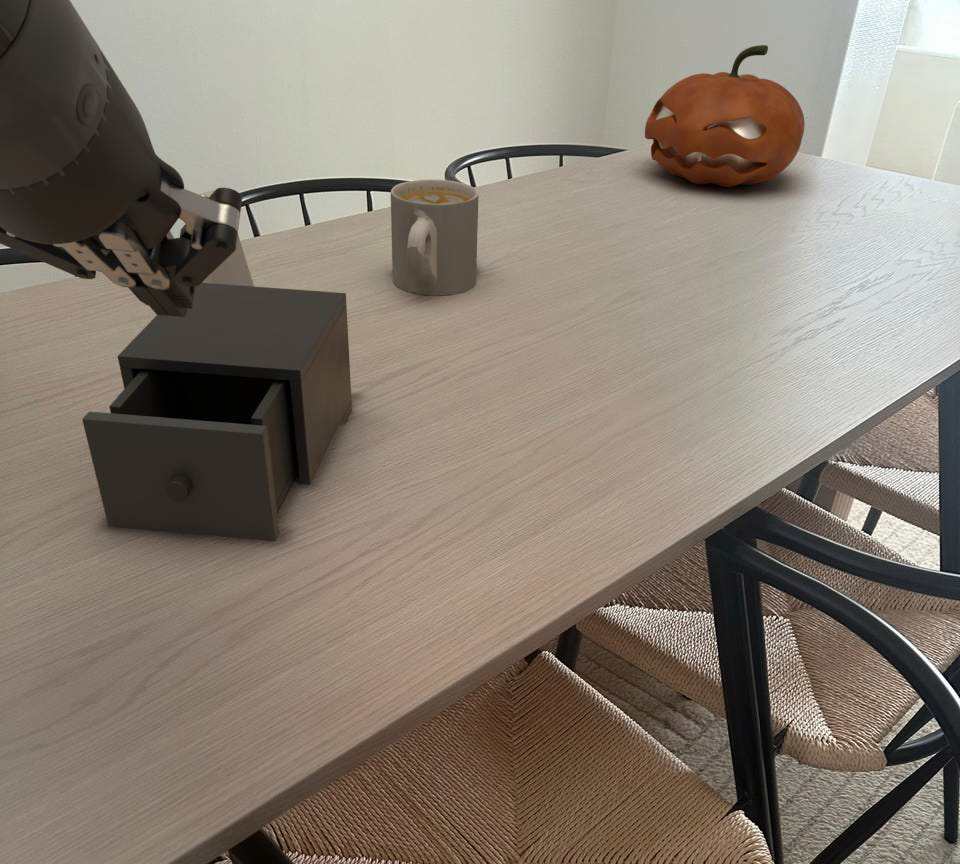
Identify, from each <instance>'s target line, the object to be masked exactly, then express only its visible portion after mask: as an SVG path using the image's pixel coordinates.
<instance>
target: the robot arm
mask: <svg viewBox="0 0 960 864" xmlns="http://www.w3.org/2000/svg"><path fill="white" fill-rule="evenodd" d="M213 191H214V192H213V193H212V195H211V196H210V197H209V198H208V197H207V196H206V195H202V193H200V194H201V195H200V194H199V193H196V192H194V191H191V190H189V189H186V188H185V183H184V180H183V178H182V176H181V174H180V173H179V172H178V171H177V169H175V168H174V167H173V166H172V165H170V164H169V163H168V162H165V161H164V160H163V159H162V158H160V157H159V156H158V155H157V153H156V152H155V149H154V147H153V144H152V140H151V138H150V135H149V132H148V129H147V126H146V123H145V121H144V119H143V116H142V114H141V112H140V110H139V108H138V107H137V105H136V103H135V102H134V100H133V99H132V97H131V96H130V94H129V92H128V91H127V89H126V88H125V85H124V84H123V82H122V81H121V80H120V78H119V76H118V74H117V73H116V71H115V70H114V68H113V67H112V65H111V64H110V62H109V60H108V59H107V57H106V55H105V54H104V52H103V51H102V49H101V48H100V46H99V44H98V43H97V42H96V39H95V38H94V37H93V35H92V33H91V32H90V30H89V29H88V27H87V25H86V24H85V22H84V20H83V19H82V17H81V16H80V14H79V12H78V11H77V9H76V7H75V5H73V3H72V1H71V0H0V245H1V246H2V245H3V246H5V247H7V248H9V249H12V250H14V251H17V252H19V253H21V254H23V255H26V256H28V257H30V258H33V259H35V260H38V261H40V262H42V263H45V264H46V265H49V266H52V267H53V268H56V269H58V270H60V271H63V272H66V273H68V274H70V275H72V276H75V277H77V278H80V279H84V280H94V279H96V274H97V272H100V273H102V274H103V275H104V276H105V277H106V278H107V279H108V280H109V281H110V282H111V283H113V284H115V285H117V286H119V287H122V288H128V289H129V290H130V292H132V294H133V295H134V296H135V297H136V298H137V299H138V301H139V302H140V303H143V304H144V305H146V306H149V308H150V309H151V310H152V311H153V312H154V314H155V315H156V316H157V315H165V316H178V317H185V316H186V314H187V308H189V309H192V305H193V298H194V290H195V286H198V285H200V284H201V283H202V282H203V281H204V280H205V279H206V278H207V277H208V276H209V275H210V274H211V273H212V272H213V271H214V270H215V269H216V268H218V267H219V266H220V265H221V264H222V263H223V262H224V261H225V260H226V259H227V258H228V257H229V256H230V255H231V254H232V253H233V252H234V251H235V250H236V243H237V236H238V235H239V226H240V220H241V219H240V218H241V212H242V204H243V196H242V194H241V193H240V192H239V191H237V190H235V189H233V188H231V187H230V188H229V187H218V188H216V189H215V190H213ZM178 220H181V221H183V223H184V225H183V226H182V227H181V228H180V233H179V237H174V235H173V233H172V232H171V229H172V228H173V227H174V225H175V224H176V223H177V221H178Z"/></svg>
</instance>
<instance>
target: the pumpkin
mask: <svg viewBox="0 0 960 864" xmlns="http://www.w3.org/2000/svg"><path fill="white" fill-rule="evenodd" d="M768 51H769V46H768V45H767V44H761V45H760V44H759V45H754V46H753V45H752V46H749V47H746V48H745V49H743V50H742V51H740V52H739V54H738V55H737V56H736V58H735V60H734V62H733V64H732V68H731V71H730V73H729V72H727V71H726V72H725V71H719V72H716V73H714V74H711V73H703V72H702V73H696V74H692V75H689V76H687V77H685V78H683V79H680V80H679V81H677V82H675V83H674V84H673V85H672V86H670V87H669V88H668V89H667V90H666V91H665V92H663V94H662V95H661V96H660V97H659V99H658V100H657V101H656V102H655V104H654V105H653V108H652V110H651V112H650V114H649V116H648V118H647V120H646V121H645V127H644V139H646V140H652V144H651V146H650V156H651V159H652V160H653V161H655V162H656V163H657V164H658V165H660V167H662V169H664V170H666V171H667V172H669V173H670V174H672V175H674V176H676V177H679V178H684V179H686V180H688V181H689V182H691V183H692V184H696V185H708V184H715V185H717V186H719V187H721V188H722V187H723V188H732V187H735V186H738V185H742V186H749V185H751V186H752V185H756V184H760V183H763V182H766V181H768V180H771V179H772V178H775V177H777V175H779V174H781V173H782V172H783V171H784V170H786V169H787V168H788V167H789V165H791V163H792V162H793V161H794V159H795V158H796V157H797V155H798V152H799V151H800V148H801V146H802V145H801V144H802V140H803V137H804V133H805V125H806V124H805V116H804V112H803V109H802V107H801V106H800V103H799V102H798V100H797V98H796V97H795V96H794V95H793V94H792V93H791V92H790V91H789V90H788V89H787V88H786V87H784V86H783V85H781V84H779V83H778V82H776V81H773V80H771V79H768V78H759V77H758V76H756V75H754V74H749V73H747V74H744V73H743V74H740V75H739V68H740V66H741V64H742V62H743V61H744V60H746V59H747V58H749V57H754V56H766V55H767V53H768Z"/></svg>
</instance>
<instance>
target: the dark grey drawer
mask: <svg viewBox="0 0 960 864" xmlns="http://www.w3.org/2000/svg"><path fill="white" fill-rule="evenodd" d="M108 408H109V411H110V412H101V411H100V412H99V411H88V412H87V413H86V414H85V415H84V416H83V417H82V420H81V421H82V424H83V428H84V433H85V437H86V441H87V445H88V449H89V453H90V457H91V462H92V465H93V470H94V473H95V478H96V482H97V485H98V489H99V495H100V498H101V502H102V506H103V510H104V514H105V519H106V523H107V527H109V528H120V529H131V530H143V531H154V532H167V533H176V534H189V535H198V536H199V535H201V536H210V537H211V536H212V537H224V538H233V539H246V540H255V541H257V540H258V541H267V542H276V541H277V539H278V538H279V537H278V536H279V535H280V527H279V519H278V511H279V510H280V508H281V505H282V504H283V502H284V500H285V498H286V495H287V493H288V492H289V490H290V487H291V486H292V483H293V482H294V479H295V478H296V476H297V475H298V474H297V473H298V463H297V452H296V442H295V432H294V421H293V411H292V400H291V390H290V380H277V379H264V378H251V377H239V376H226V375H213V374H200V373H187V372H175V371H162V370H149V369H142V370H141V371H140V372H139V373H138V375H137V376H136V377H135V378H134V379H133V380H132V381H131V382H130V384H129V385H128V386H127V387H126V388H125V389H123V390H122V391H121V392H120V394H119V395H117V397H116V398H115V399H114V400H113V401H112V402H111V404H110V405H109V407H108Z"/></svg>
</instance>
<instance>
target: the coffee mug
mask: <svg viewBox="0 0 960 864" xmlns="http://www.w3.org/2000/svg"><path fill="white" fill-rule="evenodd" d="M479 197H480V196H479V191H478V190H477V189H476V188H475V187H473V186H472V185H469V184H467V183H464V182H459V181H455V180H448V179H447V180H446V179H416V180H409V181H405V182H401V183H397V184H396V185H394V186H392V188H391V189H390V222H391V223H390V225H391V227H390V229H391V265H392V267H391V268H392V282H393V285H395V286H396V287H397V288H398V289H401V290H403V291H405V292H407V293H408V292H409V293H412V294H416V295H423V296H437V297H438V296H439V297H440V296H451V295H456V294H460V293H464V292H466V291H468V290H471V289H472V288H473V287H475V285H476V283H477V261H478V230H479V229H478V228H479Z"/></svg>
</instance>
